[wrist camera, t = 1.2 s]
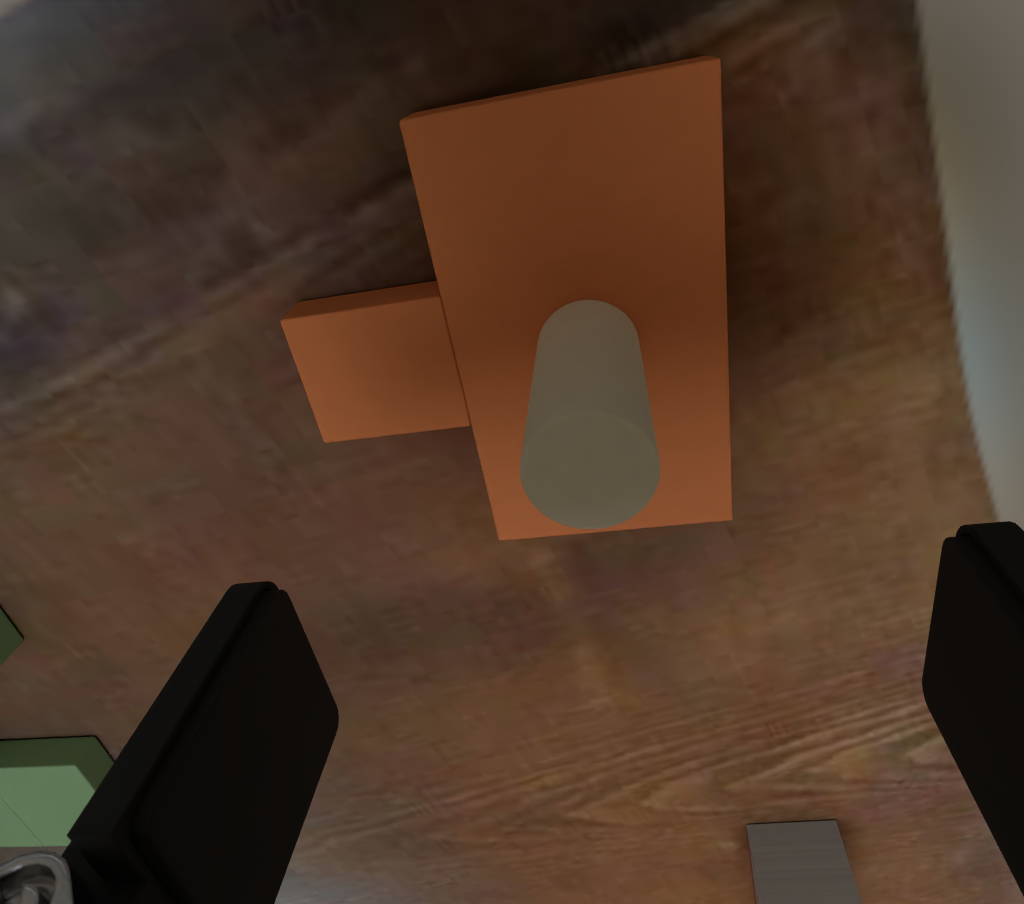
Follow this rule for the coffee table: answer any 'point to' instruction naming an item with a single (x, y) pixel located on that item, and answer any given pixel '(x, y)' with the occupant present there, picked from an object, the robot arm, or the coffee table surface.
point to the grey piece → (800, 864)
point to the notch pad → (44, 778)
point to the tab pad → (555, 305)
